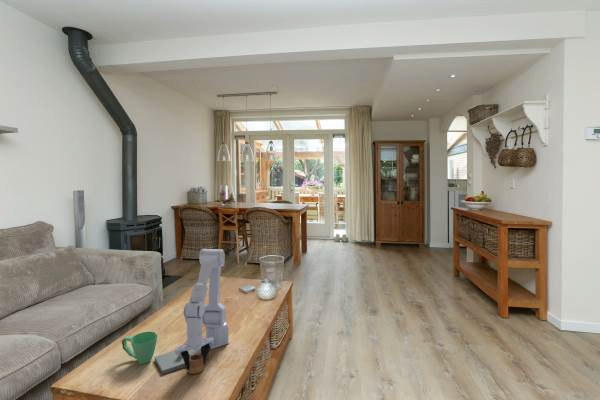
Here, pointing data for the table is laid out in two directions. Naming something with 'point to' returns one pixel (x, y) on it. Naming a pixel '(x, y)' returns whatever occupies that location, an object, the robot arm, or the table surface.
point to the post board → (172, 361)
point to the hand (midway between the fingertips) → (195, 366)
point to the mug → (141, 346)
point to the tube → (195, 363)
